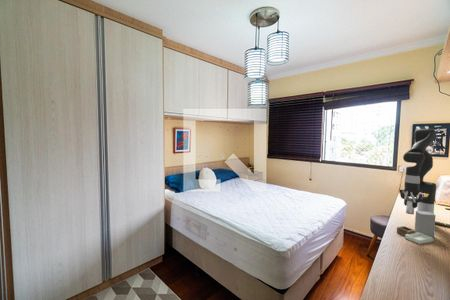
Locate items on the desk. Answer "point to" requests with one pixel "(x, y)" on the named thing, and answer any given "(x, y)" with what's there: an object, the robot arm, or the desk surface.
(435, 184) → the robot arm
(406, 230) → the block
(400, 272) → the desk surface
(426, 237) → the tray
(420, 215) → the skincare box
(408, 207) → the pin
